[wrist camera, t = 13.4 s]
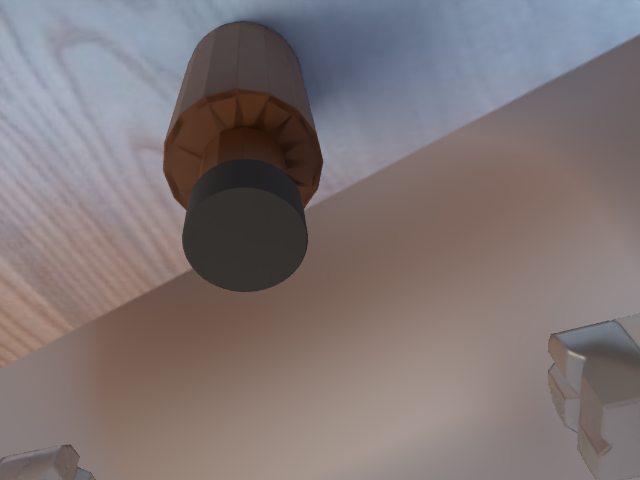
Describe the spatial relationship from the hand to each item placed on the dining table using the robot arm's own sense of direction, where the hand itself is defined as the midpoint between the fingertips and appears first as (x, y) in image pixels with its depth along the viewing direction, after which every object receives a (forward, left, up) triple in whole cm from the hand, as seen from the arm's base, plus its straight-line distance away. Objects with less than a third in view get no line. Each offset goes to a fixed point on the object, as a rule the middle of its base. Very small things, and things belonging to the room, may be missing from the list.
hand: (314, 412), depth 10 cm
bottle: (-2, -4, -31) cm, 31 cm away
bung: (-2, -4, -16) cm, 16 cm away
